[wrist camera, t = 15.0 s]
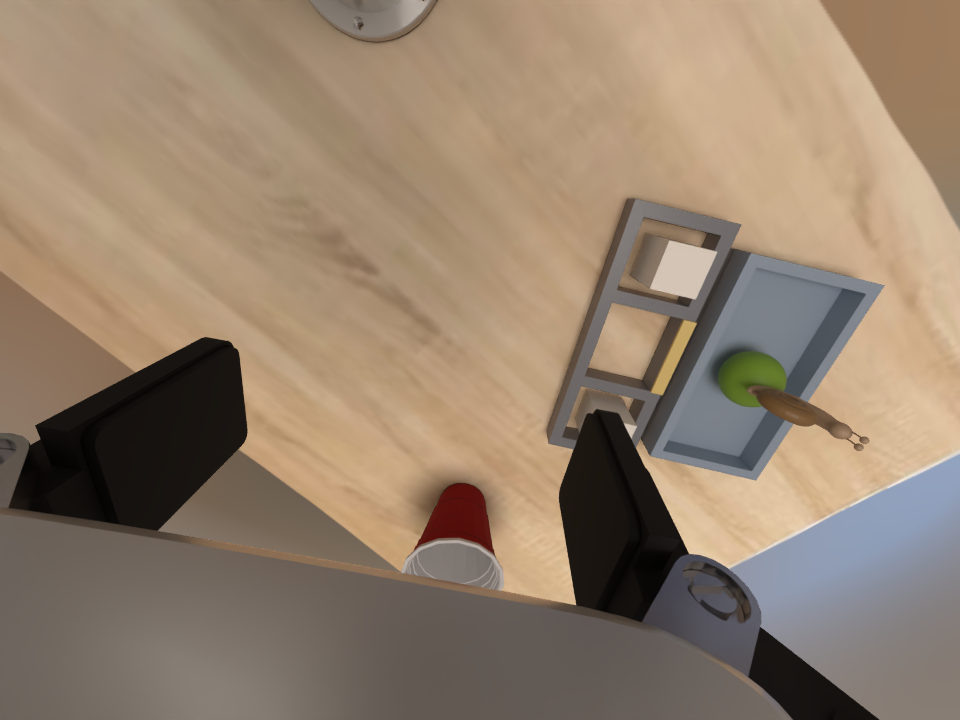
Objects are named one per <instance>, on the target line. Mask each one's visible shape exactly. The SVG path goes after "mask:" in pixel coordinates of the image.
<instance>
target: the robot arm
mask: <svg viewBox="0 0 960 720" xmlns="http://www.w3.org/2000/svg"><path fill="white" fill-rule="evenodd" d="M309 1H310V2H311V4H312V5H313V7H314V8H315V9H316V10H317V11H318V12H319V13H320V14H321V15H322V16H323V17H324V18H325V19H326V20H327V21H329V22H330V23H331V24H332V25H333V26H334V27H336V28H337V29H338V30H340V31H342V32H344V33H346V34H347V35H349V36H351V37H354V38H357V39H361V40H364V41H375V42H381V41H387V40H392V39H395V38H397V37H400V36H402V35H404V34H406V33H408V32H409V31H411V30H412V29H413V28H415V27H416V26H417V25H419V24H420V23H421V21H422V20H423V19H424V18H425V17H426V16H427V15H428V13H429V12H430V11H431V9H432V8H433V6H434V4H435V2H436V1H437V0H425V1H422V0H309ZM361 24H363V25H364V26H363V29H361V30H360V28H359V27H360V25H361ZM35 426H36V429H37V431H38V434H39V436H40V440H39V441H37V442H35V443H33V444H32V445H30V443H29V441H28V440H27V439H26V438H24V437H23V436H20V435H16V434H12V433H0V720H879V719H878V718H876V717H875V716H874V715H872V714H871V713H870V712H869V711H868V710H866V709H865V708H864V707H862V706H861V705H860V704H859V703H857V702H856V701H855V700H853V699H852V698H851V697H849V696H848V695H847V694H846V693H844V692H843V691H842V690H840V689H839V688H838V687H837V686H835V685H834V684H833V683H832V682H830V681H829V680H828V679H826V678H825V677H824V676H823V675H821V674H820V673H819V672H818V671H816V670H815V669H814V668H812V667H811V666H810V665H808V664H807V663H806V662H805V661H803V660H802V659H801V658H800V657H798V656H797V655H795V654H794V653H793V652H792V651H791V650H789V649H788V648H787V647H785V646H784V645H783V644H782V643H780V642H779V641H778V640H776V639H775V638H774V637H773V636H771V635H770V634H769V633H768V632H766V631H765V630H764V629H762V628H761V627H760V625H761V611H760V608H759V605H758V603H757V600H756V598H755V597H754V595H753V594H752V592H751V591H750V589H749V588H748V587H747V586H746V585H745V584H744V583H743V582H742V581H741V579H739V578H738V576H737V575H735V574H734V573H733V572H732V571H730V570H729V569H728V568H726V567H725V566H723V565H722V564H720V563H718V562H716V561H715V560H713V559H710V558H707V557H704V556H701V555H694V554H689V553H688V551H687V549H686V547H685V545H684V542H683V540H682V538H681V536H680V534H679V532H678V530H677V528H676V526H675V524H674V522H673V520H672V518H671V516H670V514H669V512H668V510H667V508H666V506H665V504H664V502H663V500H662V497H661V495H660V493H659V491H658V489H657V487H656V485H655V483H654V481H653V479H652V477H651V475H650V473H649V472H648V470H647V469H646V468H645V466H644V464H643V462H642V460H641V458H640V456H639V454H638V452H637V450H636V448H635V445H634V443H633V441H632V439H631V437H630V435H629V433H628V431H627V429H626V427H625V425H624V423H623V421H622V419H621V416H620V415H619V413H616V412H611V411H605V410H600V409H596V410H595V411H594V412H593V414H592V413H588V414H587V415H586V417H585V419H584V422H583V425H582V428H581V430H580V433H579V436H578V439H577V442H576V445H575V447H574V450H573V453H572V456H571V459H570V461H569V464H568V467H567V470H566V473H565V476H564V478H563V481H562V484H561V487H560V491H559V503H560V509H561V515H562V521H563V528H564V534H565V540H566V546H567V552H568V558H569V564H570V570H571V576H572V582H573V588H574V594H575V600H576V605H571V604H566V603H561V602H556V601H551V600H546V599H541V598H536V597H531V596H526V595H521V594H516V593H510V592H505V591H500V590H494V589H489V588H483V587H478V586H472V585H466V584H461V583H455V582H450V581H444V580H438V579H433V578H427V577H422V576H416V575H410V574H405V573H399V572H394V571H388V570H382V569H376V568H371V567H365V566H359V565H354V564H348V563H342V562H337V561H331V560H325V559H319V558H314V557H308V556H302V555H296V554H290V553H285V552H279V551H273V550H266V549H261V548H255V547H250V546H244V545H238V544H232V543H226V542H220V541H214V540H208V539H202V538H196V537H190V536H184V535H178V534H172V533H166V532H160V531H158V530H159V528H161V527H162V526H163V525H164V524H165V522H167V521H168V520H169V519H170V518H171V517H172V515H174V514H175V512H176V511H177V510H178V509H179V508H180V507H181V506H182V505H183V504H184V503H185V502H186V501H187V500H188V499H189V498H190V497H191V496H192V495H193V494H194V493H195V492H196V491H197V490H198V489H199V488H200V487H201V486H202V485H203V484H204V483H205V482H206V481H207V480H208V479H209V478H210V477H211V476H212V475H213V474H214V473H215V472H216V471H217V470H218V469H219V468H220V467H221V466H222V465H223V464H224V463H225V462H226V461H227V460H228V459H229V458H230V457H231V456H232V455H233V454H234V453H235V452H236V451H237V450H238V449H239V448H240V447H241V446H242V445H243V443H244V442H245V440H246V437H247V421H246V412H245V403H244V394H243V385H242V375H241V366H240V357H239V352H238V350H237V349H236V348H234V347H233V345H232V343H231V342H229V341H224V340H219V339H213V338H208V337H204V338H201V339H199V340H197V341H195V342H193V343H191V344H190V345H188V346H186V347H184V348H182V349H180V350H178V351H176V352H174V353H172V354H171V355H169V356H167V357H165V358H163V359H161V360H159V361H157V362H155V363H153V364H152V365H150V366H148V367H146V368H144V369H142V370H140V371H138V372H136V373H134V374H133V375H131V376H129V377H127V378H125V379H123V380H121V381H119V382H117V383H116V384H113V385H112V386H110V387H108V388H106V389H104V390H102V391H100V392H98V393H96V394H94V395H93V396H91V397H89V398H87V399H85V400H83V401H81V402H79V403H77V404H75V405H74V406H72V407H70V408H68V409H66V410H64V411H62V412H60V413H58V414H56V415H54V416H53V417H51V418H49V419H47V420H45V421H43V422H41V423H39V424H37V425H35Z"/></svg>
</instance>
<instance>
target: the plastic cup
mask: <svg viewBox="0 0 960 720" xmlns="http://www.w3.org/2000/svg"><path fill="white" fill-rule="evenodd" d="M401 573H405V574H410V575H416V576H422V577H427V578H433V579H438V580H444V581H450V582H455V583H461V584H466V585H472V586H478V587H483V588H489V589H494V590H500V591H501V590H502V588H503V586H504V579H503V569H502V567H501V565H500V564H499V562H498V560H497V559H496V556H495V553H494V550H493V546H492V540H491V533H490V527H489V520H488V515H487V512H486V503H485V499H484V496H483V495H482V493H481V491H480V490H478V489H477V488H476V487H474V486H472V485H469V484H466V483H457V484H454V485H451V486H449V487H448V488H447V489H446V490H445V491H444V492H443V493H442V495H441V497H440V499H439V502H438V504H437V506H436V507H435V509H434V511H433V513H432V515H431V517H430V519H429V522H428V524H427V526H426V528H425V530H424V532H423V534H422V537H421V539H419V541H418V544H417V546H416V547H415V549H414V551H413V552H412V553H411V554H410V555H409V556H408V557H407V558H406V560H405V563H404V566H403V568H402V571H401Z"/></svg>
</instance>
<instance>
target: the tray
mask: <svg viewBox="0 0 960 720" xmlns="http://www.w3.org/2000/svg"><path fill="white" fill-rule="evenodd" d="M884 286H885V285H881V284H877V283H873V282H869V281H865V280H861V279H856V278H852V277H848V276H844V275H840V274H836V273H832V272H828V271H823V270H819V269H815V268H811V267H807V266H803V265H799V264H794V263H790V262H786V261H782V260H778V259H774V258H770V257H766V256H761V255H757V254H753V253H749V252H745V251H741V250H737V249H732V248H730V250H729V252H728V254H727V256H726V258H725V261H724V263H723V265H722V267H721V269H720V271H719V273H718V275H717V277H716V280H715V282H714V284H713V286H712V288H711V290H710V292H709V294H708V296H707V299H706V301H705V303H704V305H703V307H702V309H701V311H700V313H699V315H698V318H697V320H696V323H697V324H696V326H695V328H694V330H693V332H692V335H691V337H690V339H689V341H688V343H687V345H686V347H685V349H684V351H683V353H682V356H681V358H680V360H679V362H678V364H677V366H676V368H675V370H674V372H673V374H672V377H671V379H670V381H669V383H668V385H667V387H666V389H665V391H664V393H663V395H661V396H660V398H659V400H658V402H657V404H656V406H655V408H654V410H653V413H652V415H651V417H650V419H649V421H648V423H647V425H646V427H645V429H644V432H643V434H642V436H641V440H642V442H643V444H644V446H645V448H646V449H647V451H648V453H649V455H650V456H652V457H656V458H661V459H665V460H669V461H674V462H678V463H682V464H687V465H691V466H695V467H700V468H704V469H709V470H713V471H717V472H722V473H726V474H730V475H735V476H739V477H743V478H748V479H752V480H757V478H758V477H759V475H760V474H761V472H762V471H763V469H764V468H765V466H766V465H767V463H768V462H769V460H770V459H771V457H772V455H773V454H774V452H775V451H776V449H777V448H778V446H779V445H780V443H781V442H782V440H783V439H784V437H785V436H786V434H787V433H788V431H789V430H790V428H791V427H792V425H793V423H790V422H788V421H786V420H784V419H781V418H779V417H778V416H776V415H774V414H772V413H771V412H769V411H768V410H766V409H765V408H764V407H763V406H762V407H744V406H740V405H738V404H735V403H733V402H732V401H730V400H729V399H728V398H727V397H726V396H725V395H724V394H723V393H722V391H721V390H720V387H719V384H718V373H719V370H720V367H721V366H722V364H723V363H724V362H725V361H726V360H727V359H728V358H730V357H731V356H733V355H735V354H737V353H741V352H746V351H757V352H762V353H765V354H768V355H770V356H772V357H773V358H775V359H776V360H777V361H778V362H779V363H780V364H781V365H782V367H783V368H784V370H785V373H786V378H787V383H786V387H785V390H784V392H785V393H788V394H791V395H794V396H797V397H799V398H801V399H802V400H804V401H806V402H808V401H809V399H810V398H811V396H812V395H813V393H814V392H815V390H816V389H817V387H818V386H819V384H820V383H821V381H822V380H823V378H824V377H825V375H826V374H827V372H828V371H829V369H830V368H831V366H832V365H833V363H834V361H835V360H836V358H837V357H838V355H839V354H840V352H841V351H842V349H843V348H844V346H845V345H846V343H847V342H848V340H849V339H850V337H851V336H852V334H853V333H854V331H855V330H856V328H857V327H858V325H859V324H860V322H861V321H862V319H863V318H864V316H865V314H866V313H867V311H868V310H869V308H870V307H871V305H872V304H873V302H874V301H875V299H876V298H877V296H878V295H879V293H880V292H881V290H882V289H883V287H884Z"/></svg>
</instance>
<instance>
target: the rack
mask: <svg viewBox="0 0 960 720" xmlns="http://www.w3.org/2000/svg"><path fill="white" fill-rule="evenodd" d="M643 218H648V219H653V220H657V221H661V222H665V223H669V224H673V225H677V226H681V227H686V228H690V229H694V230H698V231H702V232H706V233H708V234H707V236H706V239H705V241H704V243H703V245H702V248H705V249H709V250H712V251H716V252H717V254H716V256H715V259H714V261H713V263H712V265H711V267H710V269H709V272H708V274H707V276H706V278H705V280H704V282H703V285H702V287H701V289H700V291H699V293H698V295H697V298H696V300H695V299H691V298H687V297H683V296H680V297H679V299H678V300H674V299H669V298H665V297H661V296H657V295H653V294H648V293H644V292H640V291H636V290H632V289H627V288H623V287H619V286H618V285H619V282H620V280H621V277H622V274H623V272H624V269H625V266H626V264H627V261H628V258H629V255H630V253H631V250H632V247H633V245H634V242H635V239H636V237H637V234H638V231H639V229H640V226H641V223H642V220H643ZM740 227H741V224H737V223H733V222H729V221H725V220H721V219H717V218H712V217H708V216H704V215H700V214H696V213H692V212H688V211H684V210H680V209H675V208H671V207H667V206H663V205H659V204H655V203H651V202H647V201H643V200H638V199H627V202H626V204H625V207H624V210H623V213H622V216H621V219H620V222H619V225H618V227H617V230H616V233H615V236H614V239H613V242H612V245H611V247H610V250H609V253H608V256H607V259H606V262H605V265H604V267H603V270H602V273H601V276H600V279H599V282H598V285H597V288H596V290H595V293H594V296H593V299H592V302H591V305H590V308H589V310H588V313H587V316H586V319H585V322H584V325H583V328H582V331H581V333H580V336H579V339H578V342H577V345H576V348H575V351H574V353H573V356H572V359H571V362H570V365H569V368H568V371H567V374H566V376H565V379H564V382H563V385H562V388H561V391H560V394H559V396H558V399H557V402H556V405H555V408H554V411H553V414H552V417H551V419H550V422H549V425H548V428H547V438H548V444H553V445H557V446H561V447H566V448H570V449H574V447H575V445H576V442H577V439H578V436H579V430H578V429H575V428H571V427H566V425H567V422H568V420H569V417H570V414H571V411H572V409H573V406H574V403H575V401H576V398H577V395H578V393H579V390H580V387H581V386H583V387H587V388H591V389H595V390H600V391H604V392H608V393H613V394H617V395H621V396H626V397H630V398H634V401H633V403H632V405H631V408H630V410H629V413H630V414H631V416H632V418H633V420H634V422H635V424H636V425H637V427H636V430H635V432H634V434H633V436H632V438H631V439H632V441H633V443H634V445H635V448H636V446H637V444H638V442H639V440H640V438H641V436H642V434H643V432H644V429H645V427H646V425H647V423H648V421H649V419H650V417H651V415H652V413H653V410H654V408H655V406H656V404H657V402H658V400H659V398H660V396H661V395H663V393H664V391H665V389H666V387H667V385H668V383H669V381H670V379H671V377H672V374H673V372H674V370H675V368H676V366H677V364H678V362H679V360H680V358H681V356H682V353H683V351H684V349H685V347H686V345H687V343H688V341H689V339H690V337H691V335H692V332H693V330H694V328H695V326H696V324H697V323H696V320H697V318H698V315H699V313H700V311H701V309H702V307H703V305H704V303H705V301H706V299H707V296H708V294H709V292H710V290H711V288H712V286H713V284H714V282H715V280H716V277H717V275H718V273H719V271H720V269H721V267H722V265H723V263H724V261H725V258H726V256H727V254H728V252H729V250H730V248H731V246H732V244H733V242H734V239H735V237H736V235H737V233H738V231H739V229H740ZM612 302H613V303H617V304H621V305H625V306H630V307H634V308H638V309H642V310H646V311H651V312H655V313H659V314H663V315H667V316H671V318H670V320H669V322H668V324H667V327H666V329H665V331H664V333H663V336H662V338H661V340H660V342H659V345H658V347H657V349H656V351H655V354H654V356H653V358H652V360H651V363H650V365H649V367H648V369H647V372H646V374H645V376H644V378H643V381H642V380H638V379H634V378H629V377H625V376H621V375H616V374H612V373H608V372H604V371H599V370H595V369H591V368H588V366H589V363H590V360H591V358H592V355H593V352H594V350H595V347H596V344H597V342H598V339H599V336H600V333H601V331H602V328H603V325H604V323H605V320H606V317H607V315H608V312H609V309H610V307H611V304H612Z"/></svg>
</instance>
